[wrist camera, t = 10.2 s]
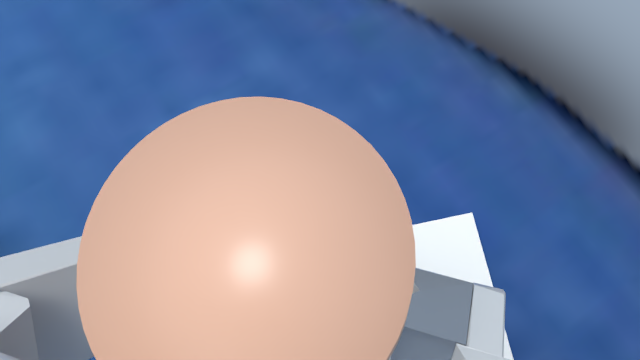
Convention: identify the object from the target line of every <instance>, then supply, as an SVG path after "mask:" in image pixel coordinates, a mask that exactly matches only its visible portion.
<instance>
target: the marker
mask: <svg viewBox="0 0 640 360" xmlns="http://www.w3.org/2000/svg"><path fill="white" fill-rule="evenodd" d="M415 268H416V259H415V239H414V233H413V227H412V221H411V217H410V214H409V210H408V207H407V204H406V201H405V198H404V196H403V193H402V191H401V189H400V187H399V185H398V182H397V180H396V178H395V177H394V175H393V174H392V172H391V170H390V169H389V167H388V166H387V164H386V163H385V161H384V160H383V159H382V157H381V156H380V155H379V154H378V153H377V151H376V150H375V149H374V148H373V147H372V145H371V144H370V143H368V142H367V141H366V140H365V139H364V138H363V137H362V136H361V135H360V134H359V133H357V132H356V131H355V130H354V129H352V128H351V127H349V126H348V125H347V124H345V123H344V122H342V121H341V120H339V119H338V118H336V117H334V116H332V115H330V114H328V113H326V112H324V111H322V110H320V109H317V108H314V107H312V106H309V105H306V104H303V103H300V102H295V101H291V100H286V99H281V98H271V97H240V98H233V99H227V100H221V101H217V102H213V103H210V104H206V105H203V106H200V107H197V108H195V109H192V110H190V111H187V112H185V113H183V114H181V115H179V116H177V117H175V118H173V119H171V120H170V121H168V122H166V123H164V124H163V125H161V126H160V127H158V128H157V129H156V130H154V131H153V132H151V133H150V134H149V135H147V136H146V137H145V138H144V139H143V140H141V141H140V142H139V143H138V144H137V145H136V146H135V147H134V148H133V149H131V150H130V152H129V153H128V154H127V155H126V156H125V157H124V158H123V159H122V161H121V162H120V163H119V164H118V165H117V166H116V168H115V169H114V170H113V172H112V173H111V175H110V176H109V178H108V179H107V180H106V182H105V183H104V185H103V187H102V189H101V190H100V192H99V194H98V196H97V198H96V200H95V201H94V204H93V206H92V209H91V211H90V213H89V216H88V218H87V221H86V224H85V227H84V231H83V235H82V238H81V242H80V248H79V254H78V261H77V282H76V288H77V298H78V308H79V313H80V317H81V321H82V325H83V330H84V333H85V335H86V338H87V340H88V343H89V346H90V348H91V351H92V353H93V355H94V356H95V358H96V360H391V355H392V353H393V351H394V349H395V348H396V346H397V344H398V342H399V339H400V337H401V334H402V331H403V329H404V326H405V322H406V318H407V314H408V310H409V306H410V301H411V297H412V292H413V286H414V277H415Z"/></svg>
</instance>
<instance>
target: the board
mask: <svg viewBox="0 0 640 360" xmlns="http://www.w3.org/2000/svg"><path fill="white" fill-rule="evenodd" d="M412 227H413V233H414V239H415V259H416V268H419V269H423V270H426V271H430V272H434V273H438V274H441V275H445V276H449V277H452V278H456V279H460V280H464V281H467V282H471V283H478V284H482V285H486V286H490V287H493V285H492V281H491V278H490V274H489V271H488V267H487V264H486V260H485V257H484V253H483V249H482V246H481V242H480V239H479V235H478V232H477V228H476V225H475V221H474V217H473V214H472V213H468V214H463V215H458V216H454V217H449V218H444V219H439V220H435V221H430V222H425V223H420V224H416V225H412ZM504 358H507V359H510V360H513V356H512V352H511V349H510V345H509V342H508V338H507V335H506V331H505V328H504Z"/></svg>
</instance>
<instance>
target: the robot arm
mask: <svg viewBox="0 0 640 360" xmlns="http://www.w3.org/2000/svg"><path fill="white" fill-rule="evenodd" d="M81 238H82V236H81V237H77V238H74V239H70V240H66V241H62V242H58V243H54V244H50V245H47V246H43V247H39V248H35V249H31V250H27V251H23V252H20V253H16V254H12V255H8V256H4V257H0V360H88V359H90V358H92V357H94V355H93V353H92V351H91V348H90V346H89V343H88V340H87V338H86V335H85V333H84V330H83V325H82V321H81V317H80V313H79V308H78V298H77V288H76V282H77V261H78V254H79V248H80V242H81ZM505 296H506V293H505V292H504V290H503V289H499V288H495V287H490V286H486V285H482V284H478V283H471V282H467V281H464V280H460V279H456V278H452V277H449V276H445V275H441V274H438V273H434V272H430V271H426V270H423V269H419V268H415V277H414V286H413V292H412V297H411V301H410V306H409V310H408V314H407V318H406V322H405V326H404V329H403V331H402V334H401V337H400V339H399V342H398V344H397V346H396V348H395V349H394V351H393V353H392V355H391V360H510V359H507V358H504V328H505Z"/></svg>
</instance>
